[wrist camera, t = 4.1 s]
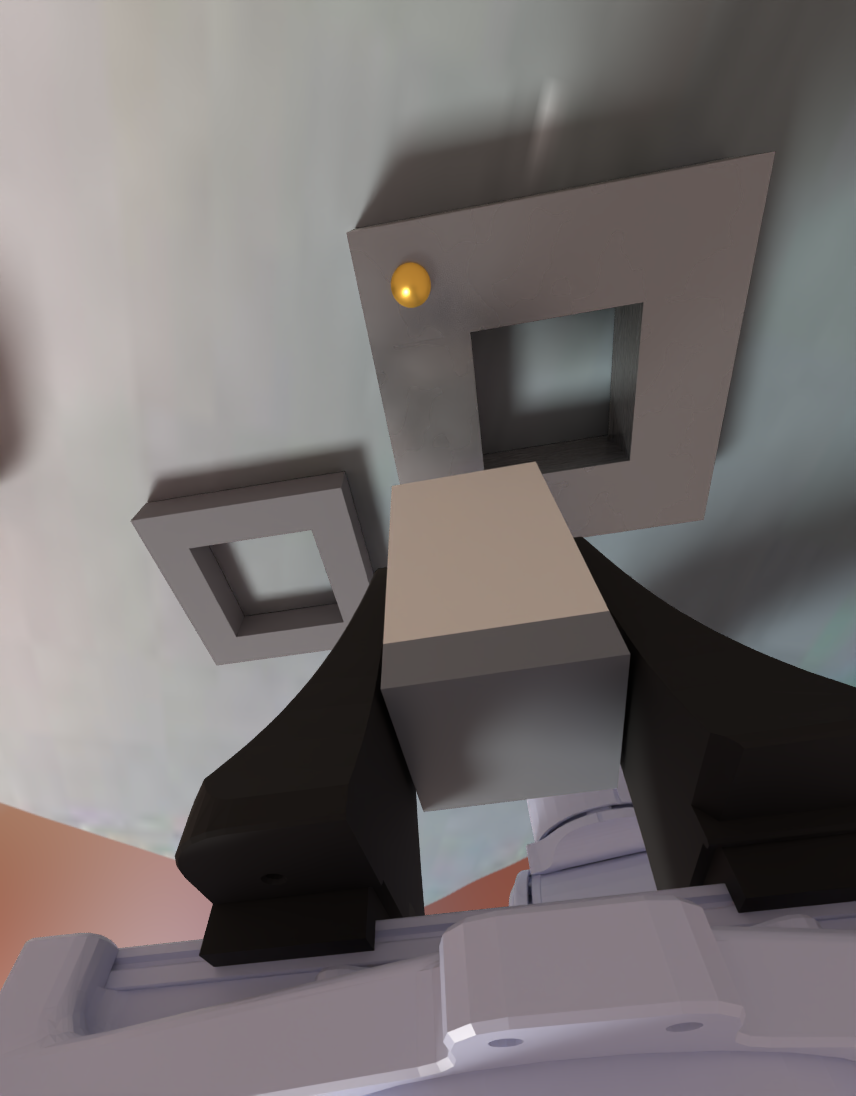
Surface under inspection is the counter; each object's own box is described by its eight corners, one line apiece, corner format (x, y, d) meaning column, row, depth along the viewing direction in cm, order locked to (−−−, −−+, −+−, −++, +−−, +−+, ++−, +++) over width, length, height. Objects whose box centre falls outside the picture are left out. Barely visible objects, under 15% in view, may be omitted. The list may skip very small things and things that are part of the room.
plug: (541, 574, 16) (617, 788, 10) (417, 593, 16) (424, 812, 10) (535, 461, 13) (630, 653, 8) (392, 485, 14) (380, 689, 8)
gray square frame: (387, 621, 26) (386, 642, 25) (225, 644, 27) (216, 665, 26) (345, 471, 21) (340, 487, 20) (146, 503, 22) (130, 520, 21)
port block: (676, 490, 22) (707, 523, 20) (415, 529, 23) (416, 565, 21) (727, 157, 16) (782, 150, 13) (354, 229, 16) (345, 233, 14)
